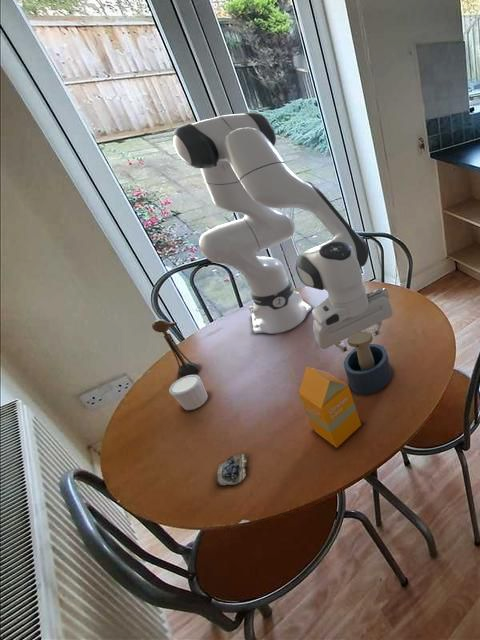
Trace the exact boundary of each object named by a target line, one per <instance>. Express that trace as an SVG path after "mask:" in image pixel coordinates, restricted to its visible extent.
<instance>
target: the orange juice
mask: <svg viewBox="0 0 480 640" xmlns="http://www.w3.org/2000/svg"><path fill="white" fill-rule="evenodd" d="M298 396H299V398H300V401H301V402H302V405H303V407H304V410H305V412H306V415H307V417H308V419H309V421H310V424H311V426H312V428H313V430H314V432H315V433H317V435H319V436H320V437H322V438H323V439H324V440H326V441H327V442H328V443H329V444H331V445H332V446H333V447H334V448H338V447H339V446H341V445H342V444H343V443H344V442H345V441H346V440H347V439H348V438H349V437H350V436H351V435H352V434H353V433H355V432H356V431H357V430H358V429H359V428H361V426H362V423H361V420H360V416H359V413H358V409H357V406H356V404H355V401H354V398H353V396H352V391H351V388H350V385H349V384H347V383H345V382H343V381H342V380H340V379H339V378H337V377H336V376H334V375H333V374H330V373H329V372H328V371H325V370H322V369H318V368H315V367H311V366H308V365H307V366H306V367H305V371H304V374H303V377H302V380H301V384H300V387H299V391H298Z"/></svg>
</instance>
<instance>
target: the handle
mask: <svg viewBox="0 0 480 640" xmlns="http://www.w3.org/2000/svg"><path fill="white" fill-rule="evenodd" d="M346 339H347V340H346V341H347V344H348V346H349V347H351V348H354V349H355V348H356V351H357V355H358V360H359V365H360V368H361V371H366V370H369V369H371V368H373V367H375V362H374V359H373V356H372V353H371V351H370V348H369V344H372V342H373V339H374V338H373V333H372V332H369V331H367V330H366V331H364V330H363V331H361V332H359V333H357V334H355V335H352V336H350V337H348V338H346Z"/></svg>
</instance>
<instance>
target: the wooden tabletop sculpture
mask: <svg viewBox="0 0 480 640" xmlns="http://www.w3.org/2000/svg"><path fill="white" fill-rule="evenodd" d="M177 325H178V323H177V321H172V322H169V321H167V320H166V319H155V320H154V321H153V322H152V324H151V328H152V330H153V331H155V332H157V333H162V337H163V338H164V339H165V342H166V343H167V345H168V346H169V348H170V350H171V351H172V354H173V355H174V358H175V359H176V362H177V365H178V369H177V375H178V377H179V378H182V377H185V376H187V375H197V373H198V372H199V368H200V367H199V366H198V365H197V364H196V363H195V362H193V361H191V360H190V359H189V358H187V356H186V355H185V354H184V353H183V351H182V350H181V349H180V348H179V346H178V344H177V343H176V340H174V338H173V336H172V335H171V333H170V331H169V329H170V328H171V327H176V326H177ZM184 359H185V360H184ZM180 363H181V364H180Z"/></svg>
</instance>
